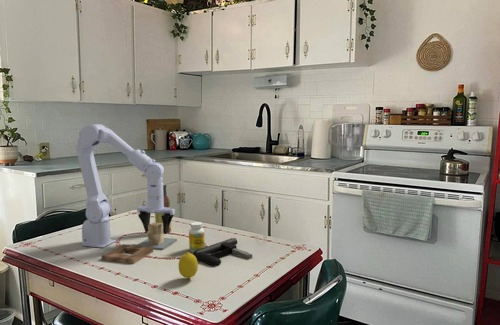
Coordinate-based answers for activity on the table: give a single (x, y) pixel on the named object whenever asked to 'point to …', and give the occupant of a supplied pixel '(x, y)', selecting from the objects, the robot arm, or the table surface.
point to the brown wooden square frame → (118, 255)
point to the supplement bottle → (196, 236)
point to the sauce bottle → (166, 204)
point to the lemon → (188, 265)
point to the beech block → (155, 233)
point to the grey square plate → (161, 246)
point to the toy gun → (213, 254)
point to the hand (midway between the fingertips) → (156, 232)
